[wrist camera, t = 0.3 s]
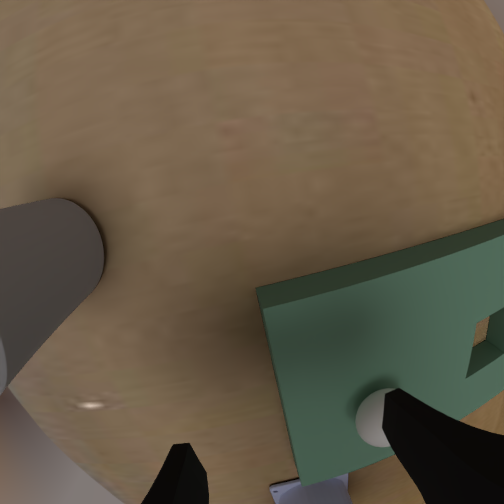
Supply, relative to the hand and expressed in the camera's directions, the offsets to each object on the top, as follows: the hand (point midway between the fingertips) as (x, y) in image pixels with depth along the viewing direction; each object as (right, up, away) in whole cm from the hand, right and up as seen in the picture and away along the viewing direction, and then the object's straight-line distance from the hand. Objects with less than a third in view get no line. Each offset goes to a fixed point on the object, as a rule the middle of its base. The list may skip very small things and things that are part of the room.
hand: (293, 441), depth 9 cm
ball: (+7, -4, +6) cm, 10 cm away
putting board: (+12, -1, +12) cm, 17 cm away
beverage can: (-13, +7, +7) cm, 16 cm away
